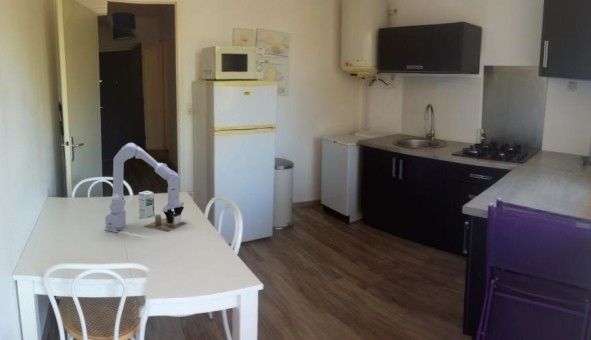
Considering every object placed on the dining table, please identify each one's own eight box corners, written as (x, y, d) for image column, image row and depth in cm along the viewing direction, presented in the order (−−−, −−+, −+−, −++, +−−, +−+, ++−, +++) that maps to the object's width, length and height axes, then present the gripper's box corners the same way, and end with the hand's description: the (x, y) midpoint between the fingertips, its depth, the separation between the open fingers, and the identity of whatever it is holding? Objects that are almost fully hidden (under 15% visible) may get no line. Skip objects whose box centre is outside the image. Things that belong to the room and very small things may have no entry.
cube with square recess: (174, 226, 246) (174, 217, 245) (166, 224, 248) (165, 215, 247) (181, 223, 251) (181, 214, 250) (172, 222, 253) (172, 212, 252)
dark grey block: (161, 225, 247) (161, 216, 246) (155, 226, 246) (155, 216, 245) (160, 223, 249) (160, 214, 248) (155, 224, 248) (154, 215, 247)
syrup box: (145, 220, 259) (145, 194, 256) (139, 217, 263) (138, 192, 260) (154, 217, 264) (154, 192, 261) (147, 215, 267) (147, 190, 264)
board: (168, 234, 238) (167, 231, 238) (142, 229, 244) (142, 226, 244) (187, 226, 253) (187, 223, 252) (163, 221, 259) (163, 218, 259)
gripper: (170, 200, 239) (171, 226, 241) (188, 194, 252) (188, 219, 254) (159, 198, 241) (159, 224, 244) (177, 192, 254) (177, 217, 257)
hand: (173, 221), depth 249 cm, fingers closed on cube with square recess, 5 cm apart
